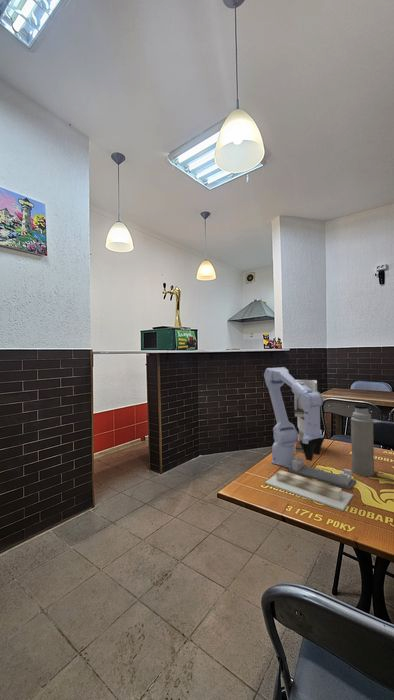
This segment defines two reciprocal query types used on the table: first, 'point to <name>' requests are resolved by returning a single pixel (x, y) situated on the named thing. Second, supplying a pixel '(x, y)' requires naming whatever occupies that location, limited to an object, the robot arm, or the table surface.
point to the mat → (312, 494)
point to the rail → (309, 485)
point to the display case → (300, 413)
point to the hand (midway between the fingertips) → (312, 456)
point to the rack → (322, 474)
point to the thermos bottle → (362, 441)
